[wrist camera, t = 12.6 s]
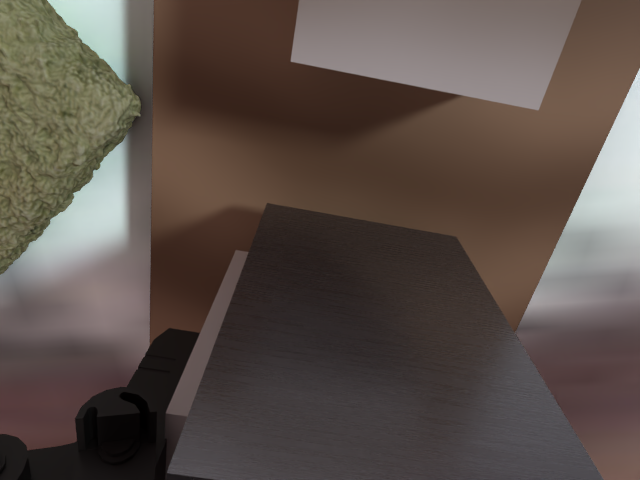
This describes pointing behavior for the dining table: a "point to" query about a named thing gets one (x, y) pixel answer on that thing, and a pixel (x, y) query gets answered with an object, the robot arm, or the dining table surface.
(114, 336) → the dining table surface
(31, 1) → the washcloth
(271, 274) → the dark grey block
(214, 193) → the board
